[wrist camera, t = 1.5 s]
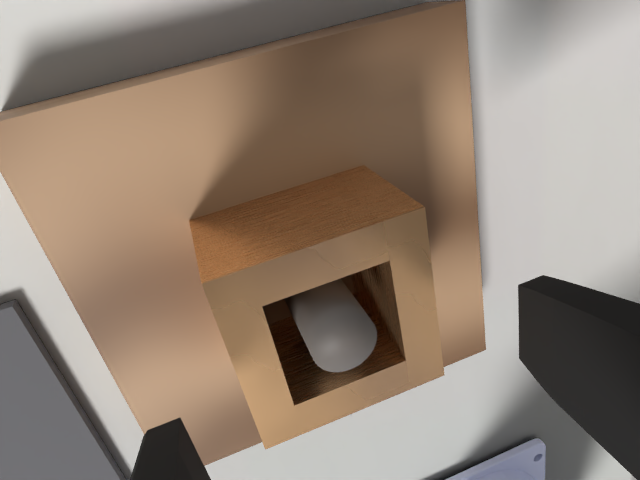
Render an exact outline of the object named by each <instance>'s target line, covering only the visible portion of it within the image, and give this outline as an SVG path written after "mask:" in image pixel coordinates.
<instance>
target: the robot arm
mask: <svg viewBox="0 0 640 480" xmlns="http://www.w3.org/2000/svg"><path fill="white" fill-rule="evenodd" d="M518 297H519V359H520V360H521V361H522V362H523V364H524V365H525V366H526V367H527V369H528V370H529V371H530V372H531V374H532V375H533V376H534V378H535V379H536V380H537V381H538V382H539V384H540V385H541V386H542V387H543V388H544V390H545V391H546V392H547V393H548V394H549V395H550V397H551V398H552V399H553V400H554V401H555V402H556V403H557V404H558V405H559V406H560V407H561V408H562V409H563V410H564V411H566V412H567V413H568V414H569V415H570V416H571V417H572V418H573V419H574V420H575V421H576V422H577V423H578V424H579V425H580V426H581V427H582V428H583V429H584V430H585V431H586V432H587V433H588V434H589V435H591V436H592V437H593V438H594V439H595V440H596V441H597V442H598V443H599V444H600V445H601V446H602V447H603V448H604V449H605V450H606V451H607V452H608V453H610V454H611V455H612V456H613V457H614V458H615V459H616V460H617V461H618V462H619V463H620V464H621V465H622V466H623V467H624V468H625V469H626V470H627V471H629V472H630V473H631V474H632V475H633V476H634V477H635V478H636V479H637V480H640V304H639V303H635V302H632V301H629V300H625V299H622V298H619V297H616V296H612V295H609V294H606V293H603V292H600V291H596V290H593V289H590V288H587V287H583V286H580V285H577V284H573V283H570V282H566V281H563V280H559V279H556V278H552V277H548V276H544V275H543V276H540V277H538V278H535V279H532V280H530V281H527V282H525V283H522V284H520V285H518ZM545 460H546V446H545V444H544V443H543V442H542V440H540V439H538V438H535V439H532V440H530V441H528V442H526V443H523V444H521V445H519V446H517V447H515V448H513V449H510V450H508V451H506V452H504V453H502V454H500V455H497V456H495V457H493V458H491V459H489V460H487V461H484V462H482V463H480V464H478V465H476V466H473V467H471V468H469V469H467V470H465V471H463V472H460V473H458V474H456V475H454V476H452V477H450V478H447V479H445V480H545ZM130 480H211V479H210V477H209V475H208V473H207V471H206V469H205V467H204V465H203V463H202V461H201V459H200V457H199V455H198V452H197V450H196V448H195V446H194V444H193V442H192V440H191V438H190V436H189V434H188V432H187V430H186V428H185V426H184V424H183V422H182V420H181V418H177V419H175V420H172V421H169V422H167V423H164V424H162V425H159V426H157V427H154V428H152V429H149V430H147V432H146V433H145V435H144V437H143V440H142V443H141V446H140V450H139V453H138V456H137V459H136V463H135V466H134V469H133V472H132V475H131V478H130Z"/></svg>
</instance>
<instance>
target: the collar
mask: <svg viewBox="0 0 640 480" xmlns="http://www.w3.org/2000/svg"><path fill="white" fill-rule="evenodd" d="M189 223H190V228H191V233H192V238H193V244H194V249H195V254H196V259H197V264H198V269H199V274H200V279H201V284H202V286H203V289H204V292H205V294H206V297H207V299H208V302H209V305H210V307H211V310H212V312H213V315H214V318H215V320H216V323H217V325H218V328H219V330H220V333H221V336H222V338H223V341H224V343H225V346H226V349H227V351H228V354H229V356H230V359H231V362H232V364H233V367H234V369H235V372H236V375H237V377H238V380H239V382H240V385H241V388H242V390H243V393H244V395H245V398H246V401H247V403H248V406H249V408H250V411H251V414H252V416H253V419H254V421H255V424H256V426H257V429H258V432H259V434H260V437H261V439H262V442H263V445H264V447H265V449H268V448H270V447H273V446H275V445H277V444H280V443H282V442H285V441H287V440H289V439H292V438H294V437H297V436H299V435H301V434H304V433H306V432H309V431H311V430H313V429H316V428H318V427H321V426H323V425H325V424H328V423H330V422H333V421H335V420H337V419H340V418H342V417H345V416H347V415H350V414H352V413H354V412H357V411H359V410H362V409H364V408H366V407H369V406H371V405H374V404H376V403H378V402H381V401H383V400H386V399H388V398H390V397H393V396H395V395H398V394H400V393H402V392H405V391H407V390H410V389H412V388H414V387H417V386H419V385H422V384H424V383H426V382H429V381H431V380H434V379H436V378H439V377H441V376H443V375H444V368H443V359H442V350H441V342H440V333H439V324H438V316H437V307H436V298H435V290H434V281H433V272H432V263H431V255H430V246H429V237H428V229H427V220H426V211H425V207H424V206H423V205H421V204H420V203H418V202H417V201H415V200H414V199H413V198H411V197H410V196H408V195H407V194H405V193H404V192H402V191H401V190H400V189H398V188H397V187H395V186H394V185H392V184H391V183H389V182H388V181H386V180H385V179H384V178H382V177H381V176H379V175H378V174H376V173H375V172H373V171H372V170H370V169H369V168H368V167H366V166H365V165H362V166H358V167H355V168H352V169H349V170H346V171H343V172H340V173H336V174H333V175H330V176H327V177H324V178H321V179H317V180H314V181H311V182H308V183H305V184H302V185H298V186H295V187H292V188H289V189H286V190H283V191H279V192H276V193H273V194H270V195H267V196H264V197H261V198H257V199H254V200H251V201H248V202H245V203H242V204H238V205H235V206H232V207H229V208H226V209H223V210H219V211H216V212H213V213H210V214H207V215H204V216H200V217H197V218H194V219H191V220H189ZM348 275H352V280H353V285H354V290H355V293H353V294H352V295H353V296H354V297H355V299H356V300H357V301H358V303H359V304H360V305H361V307H362V308H363V310H364V311H365V312H366V314H367V315H368V316H369V318H370V319H371V320H372V322H373V323H374V325H375V327H376V330H377V341H376V345H375V347H374V349H373V351H372V353H371V354H370V355H369V357H368V358H367V359H366V360H365V361H364V362H362V363H361V364H360V365H358V366H357V367H355V368H353V369H350V370H347V371H343V372H329V371H326V370H323V369H322V368H320V367H319V366H318V365H317V364H316V363H315V362H314V360H313V358H312V356H311V354H310V352H309V350H308V348H307V346H306V344H305V342H304V339H303V337H302V335H301V333H300V331H299V329H298V327H297V325H296V323H295V321H294V319H293V317H292V316H290V317H288V318H285V319H282V320H279V321H277V322H274V323H271V324H269V325H268V323H267V320H266V317H265V314H264V311H263V308H262V306H265V305H268V304H270V303H273V302H276V301H279V300H281V299H284V298H287V297H290V296H293V295H295V294H298V293H301V292H304V291H306V290H309V289H312V288H315V287H318V286H320V285H323V284H326V283H329V282H332V281H334V280H337V279H340V278H343V277H345V276H348Z"/></svg>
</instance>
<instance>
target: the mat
mask: <svg viewBox="0 0 640 480" xmlns="http://www.w3.org/2000/svg"><path fill="white" fill-rule="evenodd" d="M0 480H126V479H125V477H124V475H123V474H122V472H121V470H120V469H119V467H118V466H117V464H116V462H115V461H114V459H113V457H112V456H111V454H110V452H109V451H108V449H107V448H106V446H105V444H104V443H103V441H102V439H101V438H100V436H99V435H98V433H97V431H96V430H95V428H94V426H93V425H92V423H91V421H90V420H89V418H88V417H87V415H86V413H85V412H84V410H83V408H82V407H81V405H80V404H79V402H78V400H77V399H76V397H75V395H74V394H73V392H72V390H71V389H70V387H69V386H68V384H67V382H66V381H65V379H64V377H63V376H62V374H61V373H60V371H59V369H58V368H57V366H56V364H55V363H54V361H53V359H52V358H51V356H50V355H49V353H48V351H47V350H46V348H45V346H44V345H43V343H42V342H41V340H40V338H39V337H38V335H37V333H36V332H35V330H34V328H33V327H32V325H31V324H30V322H29V320H28V319H27V317H26V315H25V314H24V312H23V311H22V309H21V307H20V306H19V304H18V302H17V301H16V299H15V300H12V301H9V302H6V303H3V304H0Z"/></svg>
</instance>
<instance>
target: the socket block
mask: <svg viewBox="0 0 640 480" xmlns="http://www.w3.org/2000/svg"><path fill="white" fill-rule="evenodd" d="M362 165H365V166H366V167H368V168H369V169H370V170H372V171H373V172H375V173H376V174H378V175H379V176H381V177H382V178H384V179H385V180H386V181H388V182H389V183H391V184H392V185H394V186H395V187H397V188H398V189H400V190H401V191H402V192H404V193H405V194H407V195H408V196H410V197H411V198H413V199H414V200H415V201H417V202H418V203H420V204H421V205H423V206H424V207H425V211H426V220H427V229H428V237H429V246H430V255H431V263H432V272H433V281H434V290H435V298H436V307H437V316H438V324H439V333H440V342H441V350H442V359H443V367H445V366H447V365H450V364H452V363H455V362H457V361H460V360H462V359H464V358H467V357H469V356H472V355H474V354H477V353H479V352H481V351H484V350H486V345H485V328H484V311H483V294H482V277H481V260H480V243H479V226H478V209H477V192H476V175H475V158H474V141H473V124H472V107H471V90H470V73H469V56H468V39H467V22H466V5H465V0H458V1H439V2H426V3H422V4H418V5H414V6H410V7H406V8H402V9H398V10H395V11H391V12H387V13H383V14H379V15H375V16H371V17H367V18H363V19H360V20H356V21H352V22H348V23H344V24H340V25H336V26H332V27H328V28H324V29H321V30H317V31H313V32H309V33H305V34H301V35H297V36H293V37H289V38H286V39H282V40H278V41H274V42H270V43H266V44H262V45H258V46H254V47H250V48H247V49H243V50H239V51H235V52H231V53H227V54H223V55H219V56H215V57H212V58H208V59H204V60H200V61H196V62H192V63H188V64H184V65H180V66H176V67H173V68H169V69H165V70H161V71H157V72H153V73H149V74H145V75H141V76H138V77H134V78H130V79H126V80H122V81H118V82H114V83H110V84H106V85H102V86H99V87H95V88H91V89H87V90H83V91H79V92H75V93H71V94H67V95H64V96H60V97H56V98H52V99H48V100H44V101H40V102H36V103H32V104H29V105H25V106H21V107H17V108H13V109H9V110H5V111H1V112H0V172H1V174H2V176H3V177H4V179H5V181H6V183H7V185H8V186H9V188H10V190H11V192H12V194H13V196H14V197H15V199H16V201H17V203H18V205H19V207H20V208H21V210H22V212H23V214H24V216H25V217H26V219H27V221H28V223H29V225H30V227H31V228H32V230H33V232H34V234H35V236H36V238H37V239H38V241H39V243H40V245H41V247H42V249H43V250H44V252H45V254H46V256H47V258H48V259H49V261H50V263H51V265H52V267H53V269H54V270H55V272H56V274H57V276H58V278H59V280H60V281H61V283H62V285H63V287H64V289H65V290H66V292H67V294H68V296H69V298H70V300H71V301H72V303H73V305H74V307H75V309H76V311H77V312H78V314H79V316H80V318H81V320H82V321H83V323H84V325H85V327H86V329H87V331H88V332H89V334H90V336H91V338H92V340H93V342H94V343H95V345H96V347H97V349H98V351H99V353H100V354H101V356H102V358H103V360H104V362H105V363H106V365H107V367H108V369H109V371H110V373H111V374H112V376H113V378H114V380H115V382H116V384H117V385H118V387H119V389H120V391H121V393H122V394H123V396H124V398H125V400H126V402H127V404H128V405H129V407H130V409H131V411H132V413H133V415H134V416H135V418H136V420H137V422H138V424H139V425H140V427H141V429H142V431H143V433H144V435H145V433H146V432H147V430H149V429H152V428H154V427H157V426H159V425H162V424H164V423H167V422H169V421H172V420H175V419H177V418H181V420H182V422H183V424H184V426H185V428H186V430H187V432H188V434H189V436H190V438H191V440H192V442H193V444H194V446H195V448H196V450H197V452H198V455H199V457H200V459H201V461H202V463H203V465H204V466H205V465H207V464H210V463H212V462H215V461H217V460H219V459H222V458H224V457H227V456H229V455H232V454H234V453H236V452H239V451H241V450H244V449H246V448H249V447H251V446H253V445H256V444H258V443H261V442H262V439H261V437H260V434H259V432H258V429H257V426H256V424H255V421H254V419H253V416H252V414H251V411H250V408H249V406H248V403H247V401H246V398H245V395H244V393H243V390H242V388H241V385H240V382H239V380H238V377H237V375H236V372H235V369H234V367H233V364H232V362H231V359H230V356H229V354H228V351H227V349H226V346H225V343H224V341H223V338H222V336H221V333H220V330H219V328H218V325H217V323H216V320H215V318H214V315H213V312H212V310H211V307H210V305H209V302H208V299H207V297H206V294H205V292H204V289H203V286H202V284H201V279H200V274H199V269H198V264H197V259H196V254H195V249H194V244H193V238H192V233H191V228H190V223H189V220H191V219H194V218H197V217H200V216H204V215H207V214H210V213H213V212H216V211H219V210H223V209H226V208H229V207H232V206H235V205H238V204H242V203H245V202H248V201H251V200H254V199H257V198H261V197H264V196H267V195H270V194H273V193H276V192H279V191H283V190H286V189H289V188H292V187H295V186H298V185H302V184H305V183H308V182H311V181H314V180H317V179H321V178H324V177H327V176H330V175H333V174H336V173H340V172H343V171H346V170H349V169H352V168H355V167H358V166H362ZM353 293H355V290H354V285H353V280H352V275H348V276H345V277H343V278H340V279H337V280H334V281H332V282H329V283H326V284H323V285H320V286H318V287H315V288H312V289H309V290H306V291H304V292H301V293H298V294H295V295H293V296H290V297H287V298H284V299H281V300H279V301H276V302H273V303H270V304H268V305H265V306H262V308H263V311H264V314H265V317H266V320H267V323H268V325H269V324H271V323H274V322H277V321H279V320H282V319H285V318H288V317H290V316H292V317H293V319H294V321H295V323H296V325H297V327H298V329H299V331H300V333H301V335H302V337H303V339H304V342H305V344H306V346H307V348H308V350H309V352H310V354H311V356H312V358H313V360H314V362H315V363H316V364H317V365H318V366H319V367H320V368H322V369H323V370H326V371H329V372H343V371H347V370H350V369H353V368H355V367H357V366H358V365H360V364H361V363H362V362H364V361H365V360H366V359H367V358H368V357H369V355H370V354H371V353H372V351H373V349H374V347H375V345H376V341H377V330H376V327H375V325H374V323H373V322H372V320H371V319H370V318H369V316H368V315H367V314H366V312H365V311H364V310H363V308H362V307H361V305H360V304H359V303H358V301H357V300H356V299H355V297H354V296H353V295H352V294H353Z"/></svg>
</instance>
